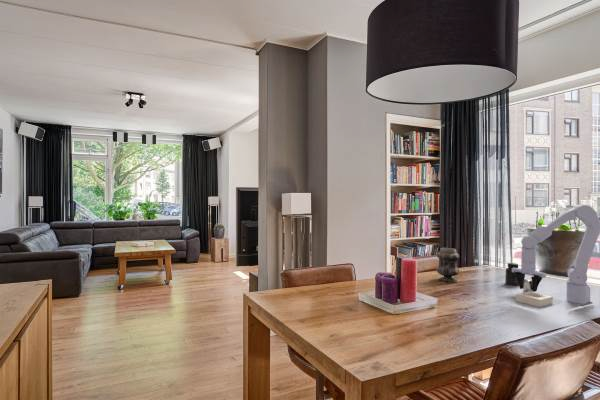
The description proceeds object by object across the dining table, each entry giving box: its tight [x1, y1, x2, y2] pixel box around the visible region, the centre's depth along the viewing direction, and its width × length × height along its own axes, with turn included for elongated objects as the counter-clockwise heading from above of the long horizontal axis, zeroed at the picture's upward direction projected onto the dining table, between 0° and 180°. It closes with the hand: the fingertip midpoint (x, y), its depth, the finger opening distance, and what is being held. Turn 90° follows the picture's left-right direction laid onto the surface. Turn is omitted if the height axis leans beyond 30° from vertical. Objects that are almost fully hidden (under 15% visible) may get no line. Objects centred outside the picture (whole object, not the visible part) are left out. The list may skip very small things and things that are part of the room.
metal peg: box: [522, 278, 534, 293], centre depth 171 cm, size 4×4×7 cm
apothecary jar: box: [436, 247, 460, 283], centre depth 204 cm, size 12×12×18 cm
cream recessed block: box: [499, 291, 567, 309], centre depth 164 cm, size 20×18×4 cm
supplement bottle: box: [504, 262, 519, 287], centre depth 192 cm, size 7×7×12 cm
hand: (528, 289), depth 171 cm, fingers open, 5 cm apart
